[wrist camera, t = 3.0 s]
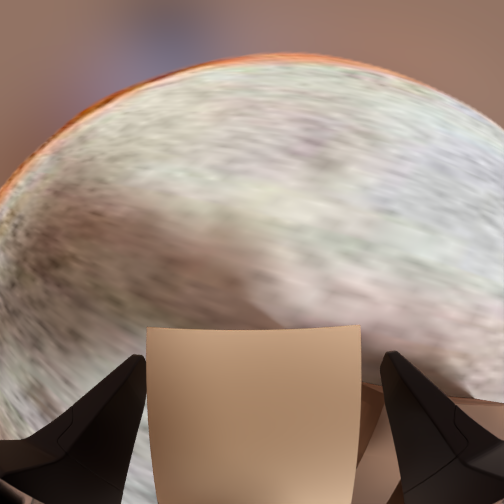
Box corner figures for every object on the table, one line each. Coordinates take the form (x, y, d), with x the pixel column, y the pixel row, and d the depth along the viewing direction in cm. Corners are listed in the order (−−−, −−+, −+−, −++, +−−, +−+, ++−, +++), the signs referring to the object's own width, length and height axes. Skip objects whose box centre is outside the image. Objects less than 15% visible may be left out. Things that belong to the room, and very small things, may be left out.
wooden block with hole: (406, 533, 9) (431, 565, 4) (281, 531, 11) (281, 577, 6) (474, 398, 13) (522, 405, 8) (353, 380, 15) (387, 395, 10)
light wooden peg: (297, 407, 15) (344, 534, 3) (238, 408, 15) (163, 528, 3) (297, 336, 16) (360, 324, 4) (237, 338, 16) (146, 326, 4)
